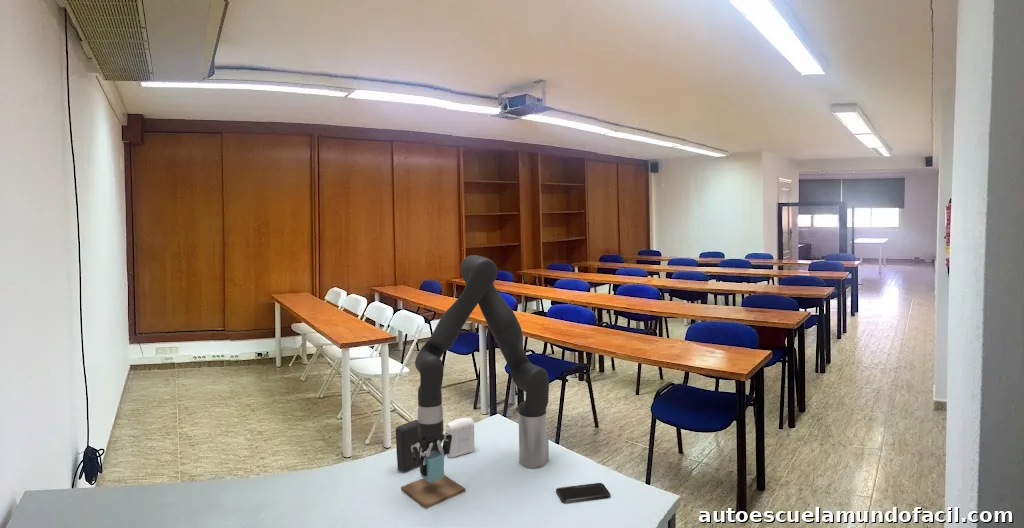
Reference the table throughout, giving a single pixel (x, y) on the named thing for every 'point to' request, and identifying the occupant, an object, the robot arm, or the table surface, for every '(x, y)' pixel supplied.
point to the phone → (582, 493)
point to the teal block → (434, 467)
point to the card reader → (406, 445)
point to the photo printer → (461, 436)
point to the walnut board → (432, 491)
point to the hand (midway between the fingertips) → (432, 472)
